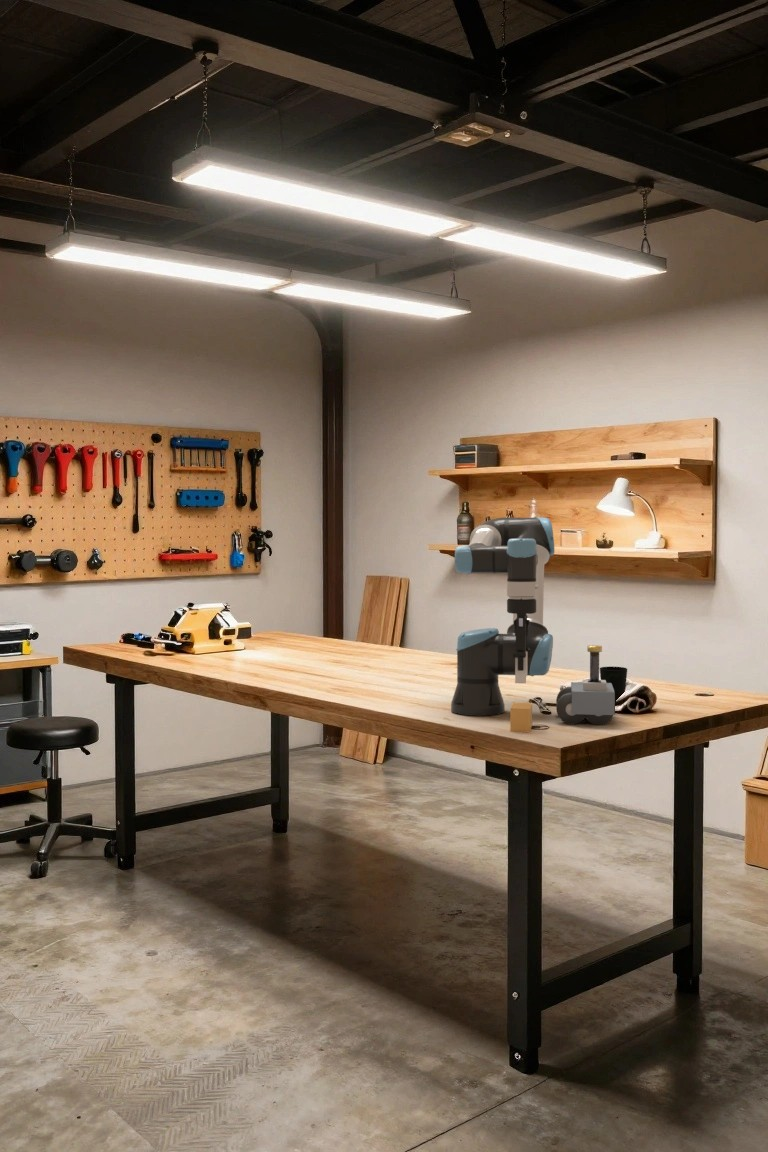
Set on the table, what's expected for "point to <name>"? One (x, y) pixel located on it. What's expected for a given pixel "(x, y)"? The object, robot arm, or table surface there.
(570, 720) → the trolley
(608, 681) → the cup
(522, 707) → the block
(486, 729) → the table surface
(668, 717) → the table surface
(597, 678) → the pin
